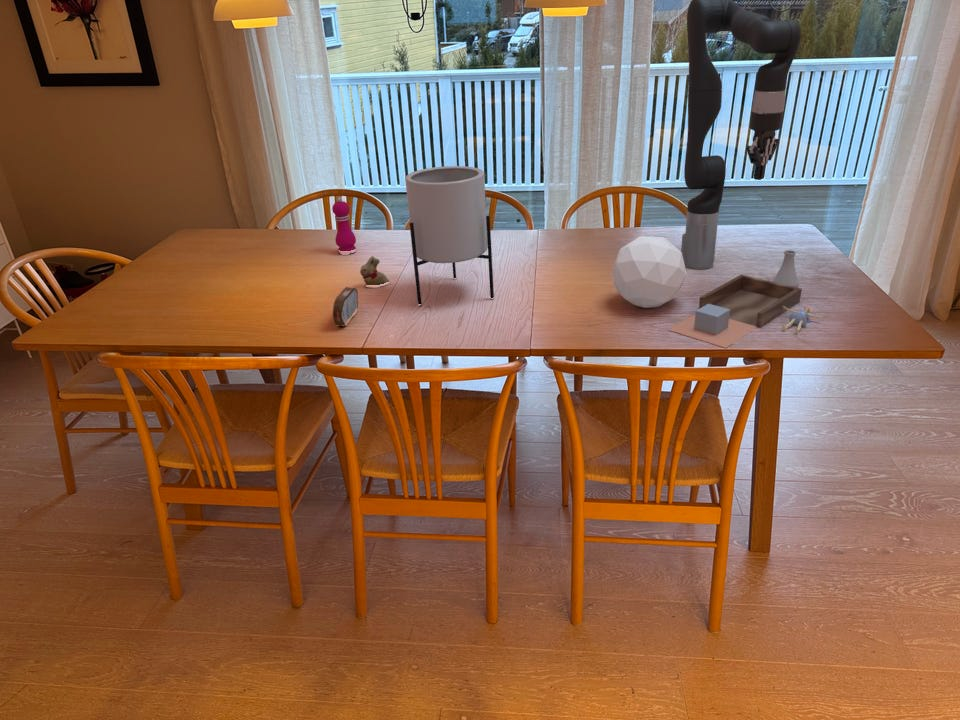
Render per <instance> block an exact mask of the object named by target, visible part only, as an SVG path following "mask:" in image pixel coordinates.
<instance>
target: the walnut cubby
mask: <svg viewBox="0 0 960 720" xmlns="http://www.w3.org/2000/svg"><path fill="white" fill-rule="evenodd" d="M802 290H803V289H802V288H801V287H793V286H788V285H784V284H780V283H775V282H773V281H771V280H767V279H766V280H765V279H762V278H757V277H753V276H749V275H743V274H740V275H738V276H736V277H733V279H731V280H729V281H727V282H724V283H723V284H721V285H719V286H718V287H716V288H714V289H712V290H710V291H708V292H707V293H705V294H703V295H701V296H699V303H698V309H700V308H702V307H703V306H705V305H707V304H712V305H715V306H719V307H723V308H726V309H730V315H729V319H732V320H735V321H739V322H742V323H746V324H749V325H753V326H756V327H757V328H762V327H764V326H766V325H767V324H769V323H770V322H771V321H773V320H775V319H776V318H777V317H779V316H781V315H782V314H784V313H785V312H786V311H788V310H786V309H784V308H783V307H782V306H784V307H786V308H787V309H790V310H791V308H792V307H794V306H796V305H797V304H799V303H800V301H801V295H802Z"/></svg>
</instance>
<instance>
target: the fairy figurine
mask: <svg viewBox="0 0 960 720" xmlns="http://www.w3.org/2000/svg"><path fill="white" fill-rule="evenodd" d="M782 307H783V308H784V309H786V310H787V311H789V312H791V313H790V314H789V316H788V321H789V322H788V323H787V324H786V325H785V324H783V325H782V326H781V331H782V332H786V331H787V330H788V329H789V328H791V327H792V325H793V326H794V325H795V326H797V327H796V328H795V329H794V333H793V334H794V335H799V332H800V331H801V330H802V327H805V326H806V325H807V324H808V323H810V322H811V319H809V318H815V319H820V318H821V319H822V318H823V319H827V318H829V315H827V314H825V315H814V314H811V313H810V311H811V308H810V307H809V306H805V308H804V309H801V310H800V311H797V310H794V309H793V310H792V309H791V308H790V309H787V308H786V307H784V306H782Z"/></svg>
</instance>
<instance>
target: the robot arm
mask: <svg viewBox="0 0 960 720" xmlns="http://www.w3.org/2000/svg"><path fill="white" fill-rule="evenodd" d="M686 32H687V35H686V36H687V47H688V86H687V87H688V88H687V92H688V93H687V136H686V137H687V138H686V139H687V140H686V148H685V156H684V157H685V158H684V173H683V175H684V176H683V177H684V183H685V186H686V188H688V189H689V190H693V191H694V190H703V191H702V192H700V193H699V194H698V195H696V196H695V197H693V198H691V199H689V200H688V201H687V209H686V221H685V233H682V237H681V245H680V247H681V249H680V251H681V252H682V256H683V260H684V264H685V268H688V269H691V270H692V269H693V270H705V269H706V270H707V269H710V268H712V267H714V264H715V263H714V262H715V255H716V254H715V253H716V245H717V233H718V224H719V215H720V206H721V204H722V201H723V193H724V187H725V181H726V173H727V168H726V167H727V166H726V161H725V160H724V158H723V156H720V155H716V154H715V155H705V156H703V148H704V145H705V144H704V143H705V140H706V137H707V135H708V134H709V131H710V130H711V128H712V126H714V123H715V122H716V120H717V118H718V116H719V114H720V111H721V109H722V100H723V82H722V79H721V76H720V74H719V72H718V70H717V68H716V67H715V65H714V63H713V62H712V60H711V58H710V54H709V52H708V47H707V38H706V37H707V34H717V33H719V32H720V33H721V32H730V33H731V35H732V36H733V38H735V39H736V40H737V41H739V42H741V43H744V44H746V45H749V46H750V48H752V49H753V50H754V52H755V53H759V54H762V55H763V54H764V55H766V54H767V55H768V54H769V55H770V54H775V55H774V57H773V59H772V60H771V61H770V62H768V63H765V64H763V65H761V66H759V68H758V69H757V73H756V81H755V90H754V94H753V99H752V103H751V104H752V105H751V113H750V122H749V129H750V130H752V131H754V133H753V136H752V144H751V145H747V146H746V152H747V155H748V159H749V162H750V164H752V165H754V173H753V179H754V180H755V181H756V180H757V181H758V180H759V181H762V180H764V178H765V176H766V175H765V174H766V169H767V168H766V166H767V165H768V163H769V161H772V158H773V156H774V154H775V152H776V150H777V147H778V145H779V144H780V139H779V138H776V132H777V131H779V130H781V128H782V126H783V119H784V111H785V104H786V89H787V81H788V74H789V70H790V68H791V67H792V65H793V61H794V58H795V57H796V54H797V51H798V48H799V46H800V44H801V39H802V29H801V26H800V24H799V22H797V21H795V20H792V19H787V20H786V19H785V20H771V18H769V17H768V16H766V15H764V14H760V13H757V12H755V11H751V10H747V9H745V8H744V7H742V6H740V5H739V4H737V3H736V2H735V1H733V0H691V1H690V2H689V4H688V8H687V13H686Z"/></svg>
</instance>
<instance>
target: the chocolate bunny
mask: <svg viewBox="0 0 960 720" xmlns="http://www.w3.org/2000/svg"><path fill="white" fill-rule="evenodd" d="M379 264H380V259H378V258H376V257H375V256H373V255H372V256H370V257H369V259H368V261H366V263H364V264H363V265H361V267H360V270H359V272H360V275H361V276H362V279H363V282H364V283H365V285H380V284H384V283H386V282H389V281H390V280H389V279H388V277H387V276H386V274H385V273H383V272H381V271H378V269H377V267H378V265H379Z"/></svg>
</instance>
